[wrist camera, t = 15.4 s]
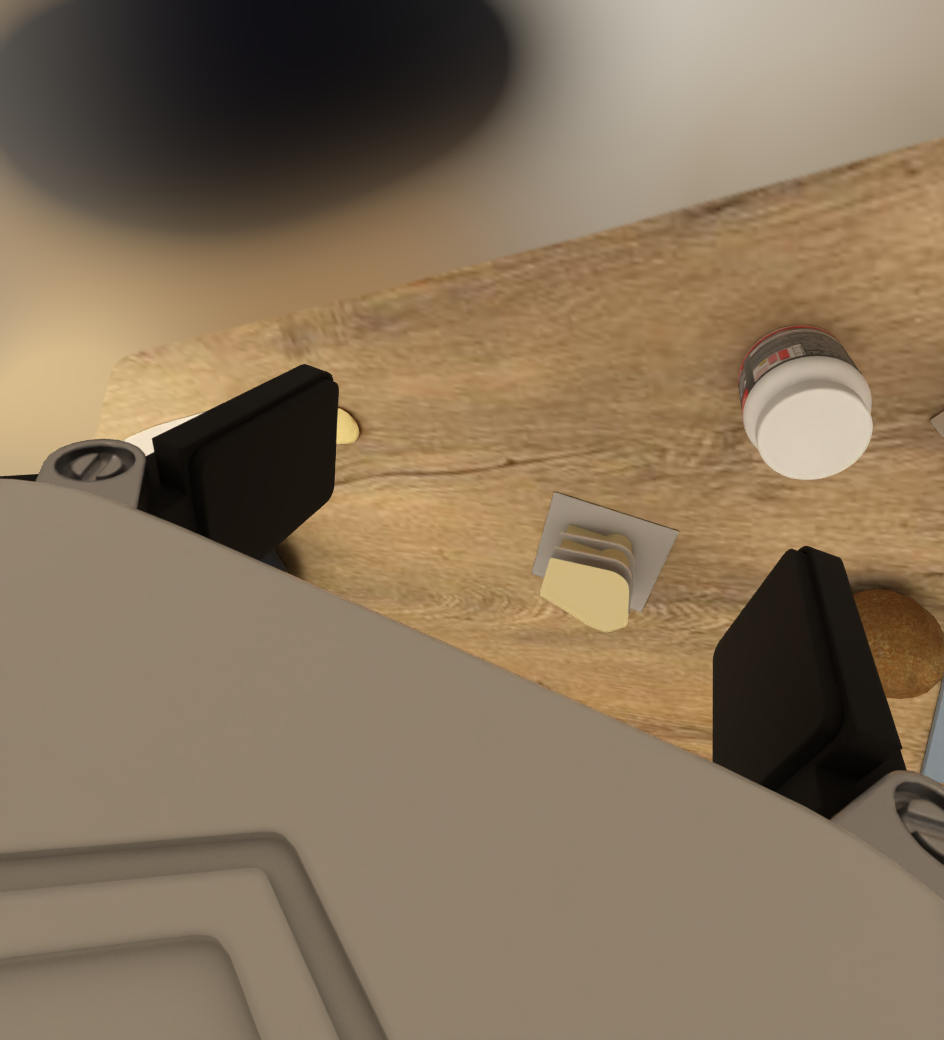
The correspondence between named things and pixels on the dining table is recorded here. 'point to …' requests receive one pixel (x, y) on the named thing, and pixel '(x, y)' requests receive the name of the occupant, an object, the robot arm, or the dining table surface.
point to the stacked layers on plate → (599, 561)
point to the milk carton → (939, 423)
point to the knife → (143, 440)
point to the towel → (936, 744)
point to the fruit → (902, 642)
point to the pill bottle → (804, 403)
